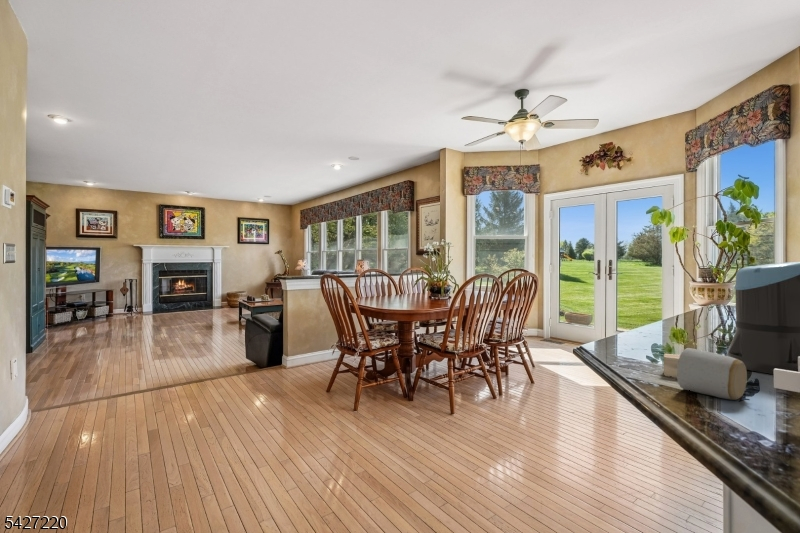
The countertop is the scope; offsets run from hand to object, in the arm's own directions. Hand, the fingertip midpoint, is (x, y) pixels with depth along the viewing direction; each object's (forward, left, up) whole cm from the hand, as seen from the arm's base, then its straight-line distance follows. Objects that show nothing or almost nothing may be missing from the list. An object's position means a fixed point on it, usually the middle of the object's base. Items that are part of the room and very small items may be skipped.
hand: (786, 370), depth 59 cm
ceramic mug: (-1, -10, -6) cm, 12 cm away
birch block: (-9, -18, -6) cm, 21 cm away
